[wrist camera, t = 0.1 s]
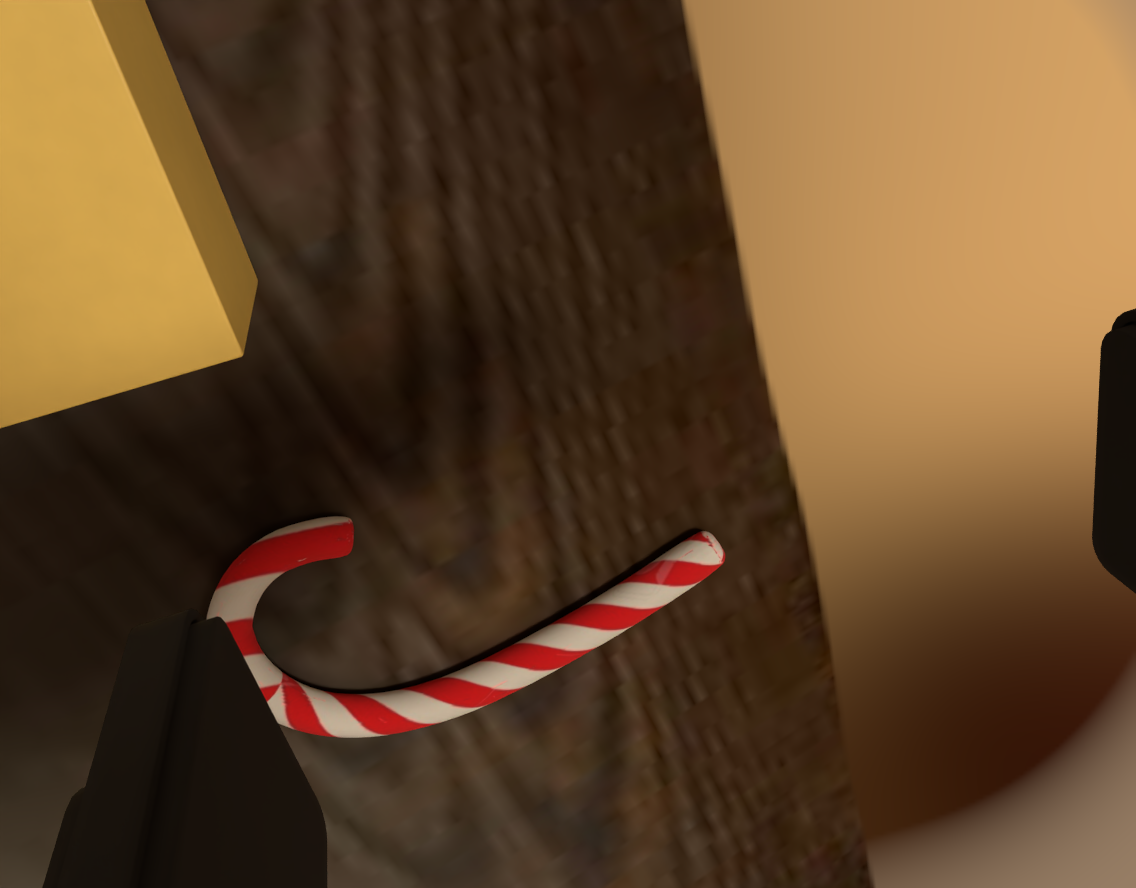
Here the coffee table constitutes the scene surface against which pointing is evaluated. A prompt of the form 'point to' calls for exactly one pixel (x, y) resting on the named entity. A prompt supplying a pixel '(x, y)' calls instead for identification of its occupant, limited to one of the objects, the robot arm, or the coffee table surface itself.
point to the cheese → (105, 214)
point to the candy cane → (457, 689)
